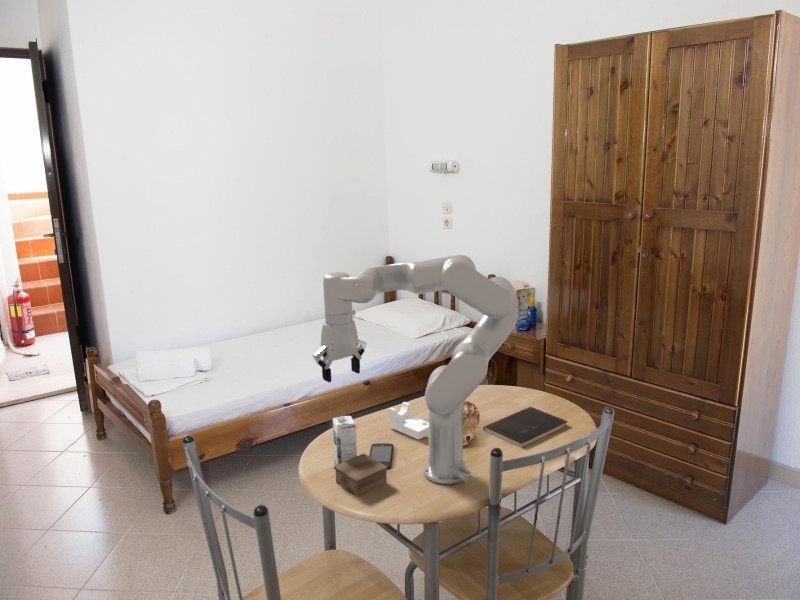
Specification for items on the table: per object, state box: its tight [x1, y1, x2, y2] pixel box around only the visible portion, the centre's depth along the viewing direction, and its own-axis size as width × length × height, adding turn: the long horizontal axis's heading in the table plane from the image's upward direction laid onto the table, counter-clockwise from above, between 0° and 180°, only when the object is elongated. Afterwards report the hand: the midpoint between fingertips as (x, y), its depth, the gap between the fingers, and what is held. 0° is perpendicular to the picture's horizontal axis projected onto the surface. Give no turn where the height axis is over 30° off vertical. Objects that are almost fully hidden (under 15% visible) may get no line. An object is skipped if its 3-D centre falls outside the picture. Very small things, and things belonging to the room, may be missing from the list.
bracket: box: [388, 401, 429, 440], centre depth 204 cm, size 13×7×8 cm, turn 45°
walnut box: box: [333, 453, 389, 497], centre depth 175 cm, size 11×11×5 cm
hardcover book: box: [482, 406, 568, 448], centre depth 206 cm, size 16×23×2 cm
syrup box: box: [332, 415, 358, 466], centre depth 183 cm, size 6×6×14 cm
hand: (341, 376), depth 177 cm, fingers open, 9 cm apart
